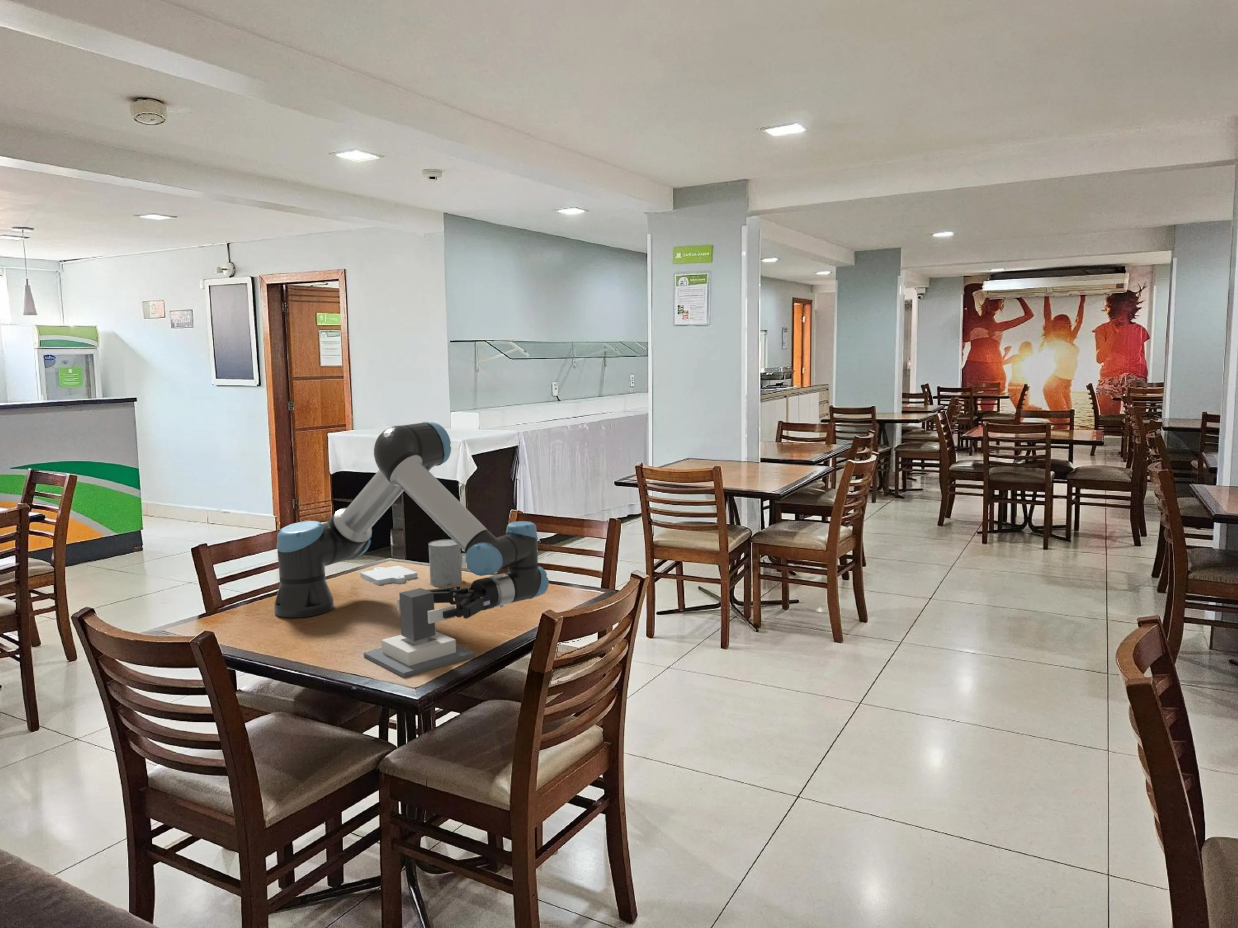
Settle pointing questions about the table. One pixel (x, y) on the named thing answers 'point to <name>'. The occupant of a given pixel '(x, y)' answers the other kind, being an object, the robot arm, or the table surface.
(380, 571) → the mounting plate
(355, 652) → the table surface
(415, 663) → the socket
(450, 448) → the robot arm
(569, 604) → the table surface
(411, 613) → the plug
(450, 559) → the grey cylinder
